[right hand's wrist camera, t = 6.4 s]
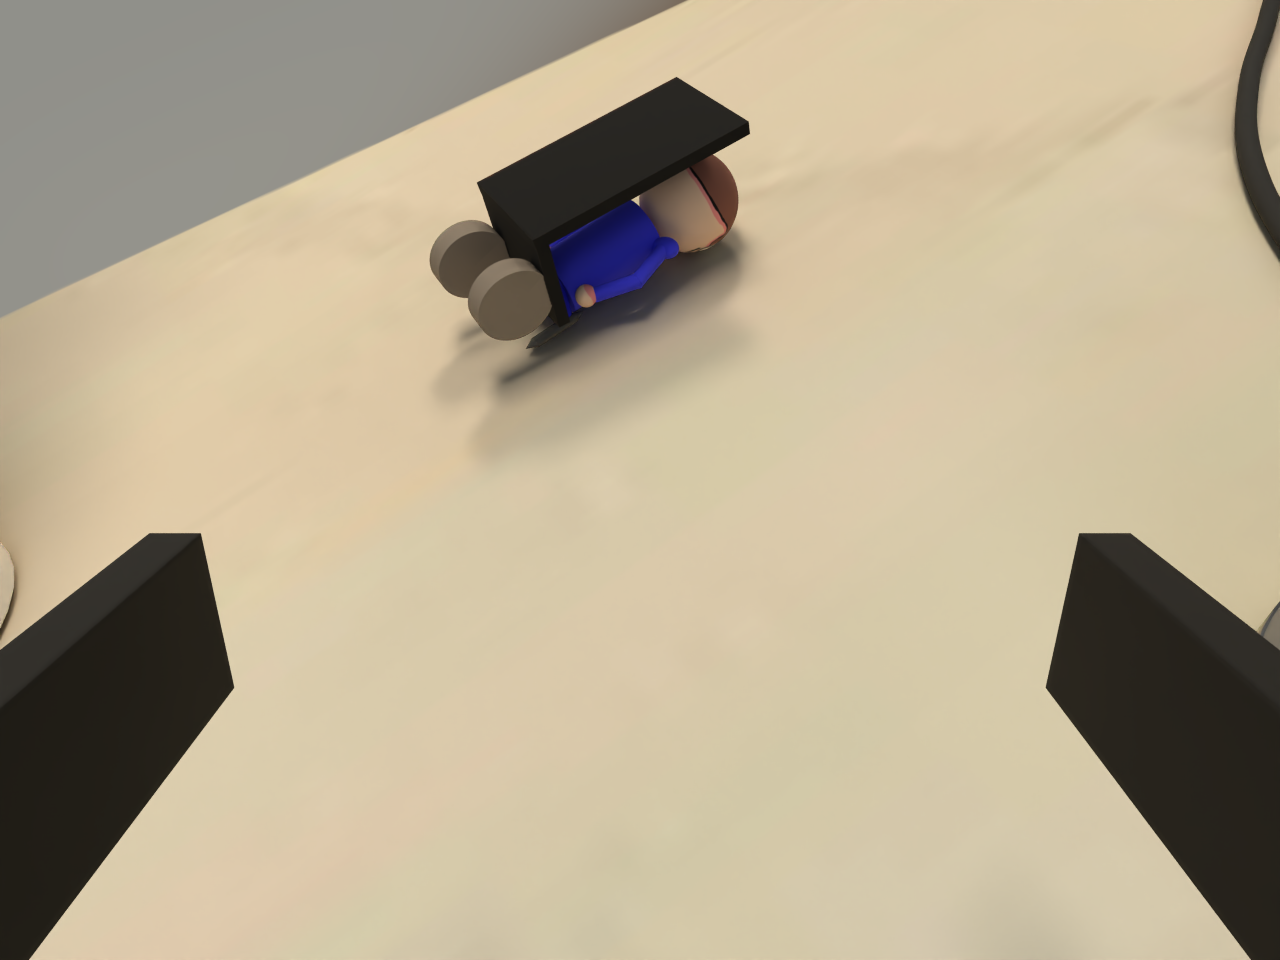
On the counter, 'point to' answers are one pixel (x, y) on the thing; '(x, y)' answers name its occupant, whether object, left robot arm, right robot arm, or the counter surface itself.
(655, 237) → the figurine character
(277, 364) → the counter surface
